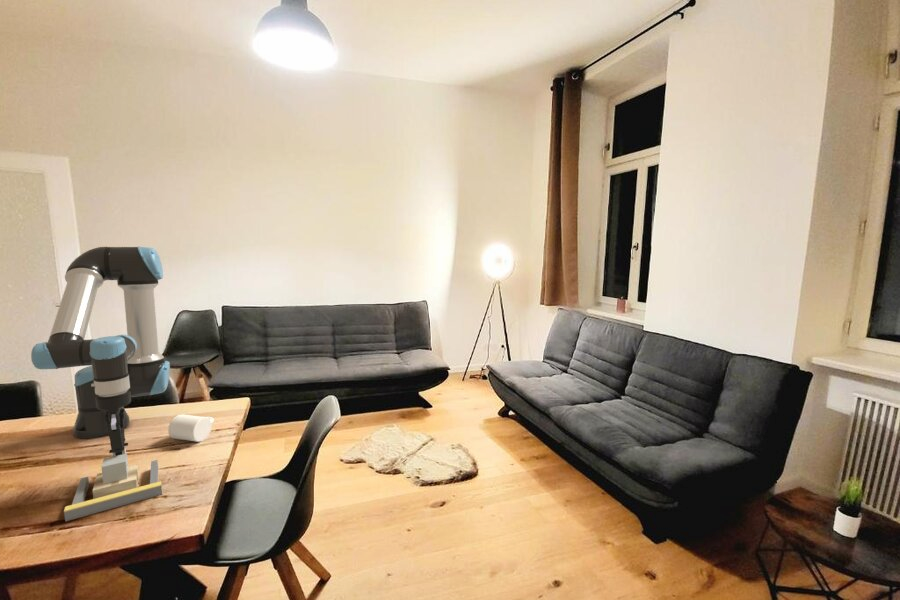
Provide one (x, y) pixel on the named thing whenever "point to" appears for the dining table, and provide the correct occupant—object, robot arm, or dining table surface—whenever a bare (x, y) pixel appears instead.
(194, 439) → the mug
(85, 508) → the dock
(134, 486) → the pallet
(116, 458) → the light grey cube
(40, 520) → the dining table surface
